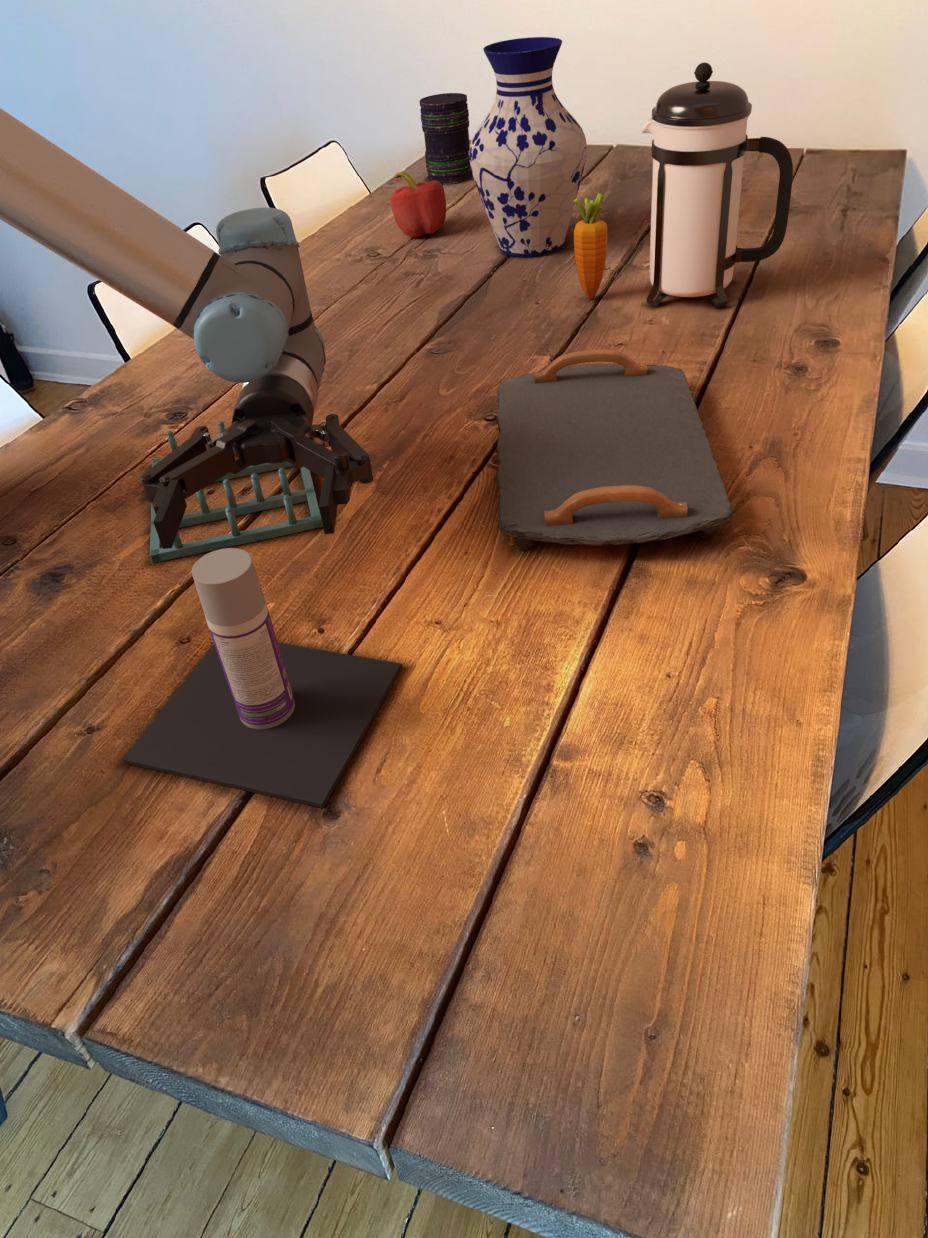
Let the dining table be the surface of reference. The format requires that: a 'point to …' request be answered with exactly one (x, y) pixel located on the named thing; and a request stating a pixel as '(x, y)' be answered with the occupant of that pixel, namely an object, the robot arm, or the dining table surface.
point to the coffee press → (704, 188)
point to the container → (244, 637)
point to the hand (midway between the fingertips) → (244, 528)
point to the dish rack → (240, 512)
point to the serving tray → (604, 455)
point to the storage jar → (446, 137)
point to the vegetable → (419, 206)
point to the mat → (279, 756)
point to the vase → (527, 150)
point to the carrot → (590, 245)
